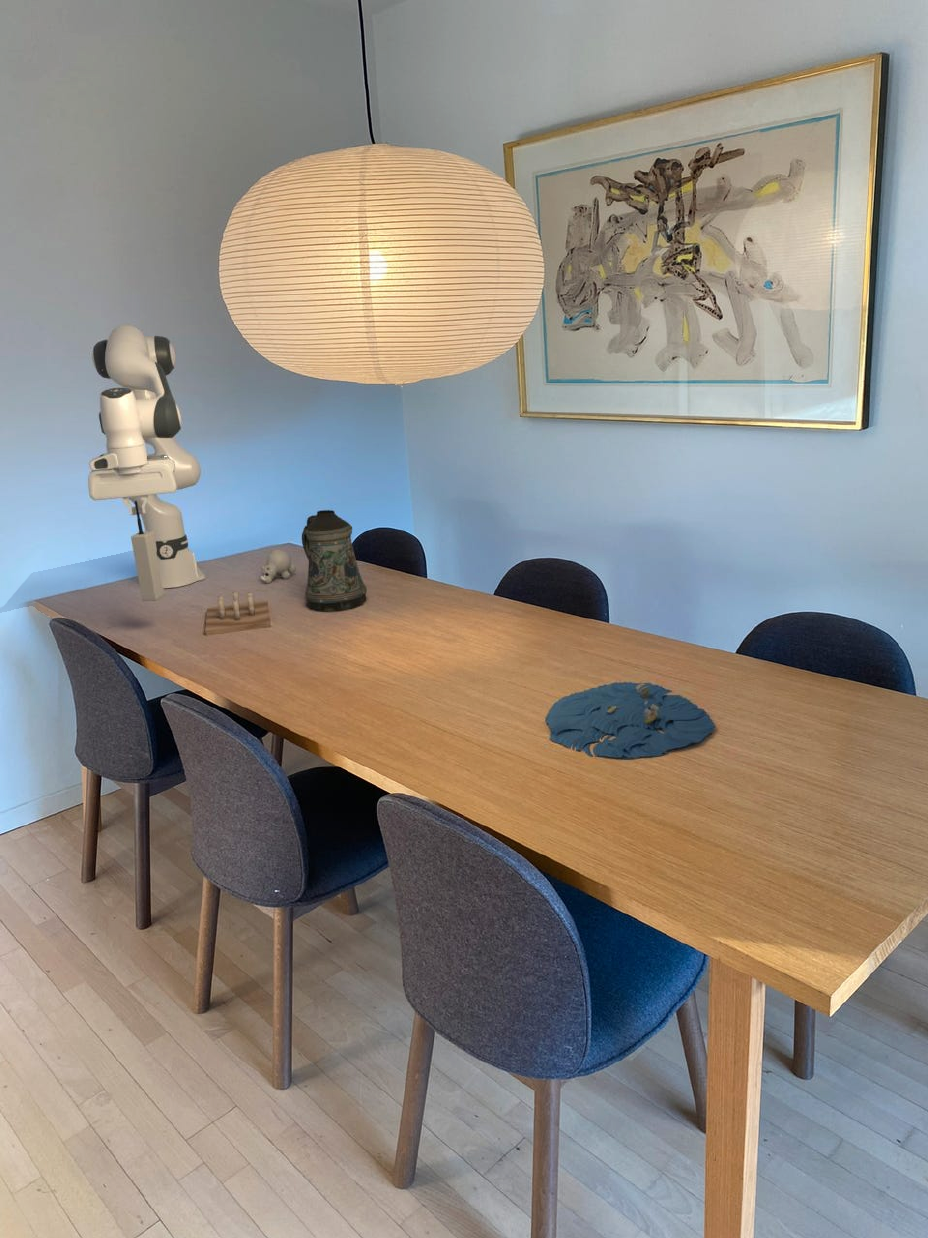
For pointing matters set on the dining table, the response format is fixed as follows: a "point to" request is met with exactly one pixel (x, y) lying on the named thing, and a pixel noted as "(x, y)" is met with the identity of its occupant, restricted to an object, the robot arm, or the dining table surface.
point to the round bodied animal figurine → (277, 566)
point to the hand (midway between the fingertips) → (138, 514)
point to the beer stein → (331, 564)
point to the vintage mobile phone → (147, 562)
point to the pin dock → (237, 615)
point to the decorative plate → (627, 720)
